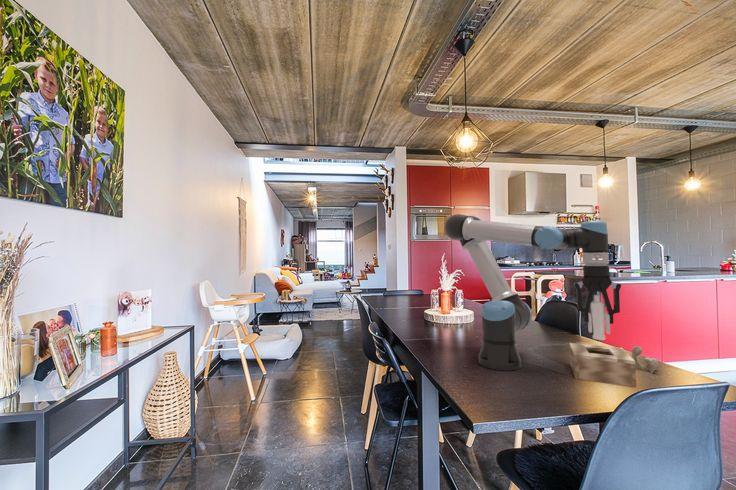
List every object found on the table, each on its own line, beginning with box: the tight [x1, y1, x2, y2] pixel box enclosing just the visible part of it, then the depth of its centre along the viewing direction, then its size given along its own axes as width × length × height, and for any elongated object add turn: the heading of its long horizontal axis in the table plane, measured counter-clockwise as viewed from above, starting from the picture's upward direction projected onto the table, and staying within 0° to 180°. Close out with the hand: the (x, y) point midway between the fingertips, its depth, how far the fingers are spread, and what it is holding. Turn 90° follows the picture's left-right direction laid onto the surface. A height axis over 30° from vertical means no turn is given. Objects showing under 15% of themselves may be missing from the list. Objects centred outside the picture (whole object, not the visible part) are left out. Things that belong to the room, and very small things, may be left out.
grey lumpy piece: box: [631, 345, 660, 374], centre depth 114 cm, size 9×6×10 cm
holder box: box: [568, 342, 637, 388], centre depth 110 cm, size 16×16×8 cm
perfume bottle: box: [589, 294, 607, 341], centre depth 111 cm, size 5×4×15 cm
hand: (599, 332), depth 111 cm, fingers closed on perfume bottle, 4 cm apart
